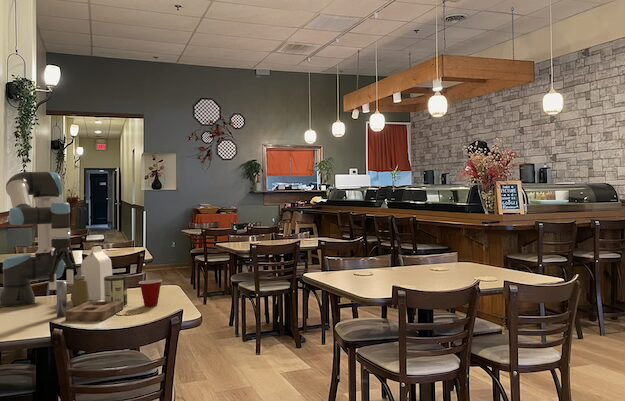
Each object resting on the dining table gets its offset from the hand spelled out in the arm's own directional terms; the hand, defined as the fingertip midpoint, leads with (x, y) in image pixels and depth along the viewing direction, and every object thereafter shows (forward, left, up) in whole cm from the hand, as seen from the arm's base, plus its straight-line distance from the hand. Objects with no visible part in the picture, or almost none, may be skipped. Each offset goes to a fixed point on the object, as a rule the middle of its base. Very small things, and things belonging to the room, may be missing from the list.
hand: (61, 286), depth 221 cm
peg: (0, 0, -13) cm, 13 cm away
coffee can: (+15, +20, -13) cm, 28 cm away
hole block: (+14, +2, -13) cm, 19 cm away
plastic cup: (+31, +22, -13) cm, 40 cm away
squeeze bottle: (-3, +21, -13) cm, 25 cm away
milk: (-4, +40, -13) cm, 43 cm away
